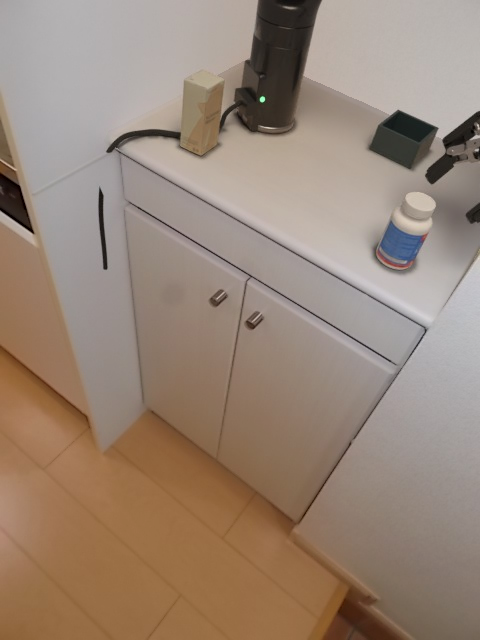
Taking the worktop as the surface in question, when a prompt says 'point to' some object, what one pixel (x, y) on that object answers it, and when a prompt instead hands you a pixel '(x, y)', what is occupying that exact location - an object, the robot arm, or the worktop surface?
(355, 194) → the worktop surface
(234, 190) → the worktop surface
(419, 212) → the pill bottle
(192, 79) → the box
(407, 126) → the bin
